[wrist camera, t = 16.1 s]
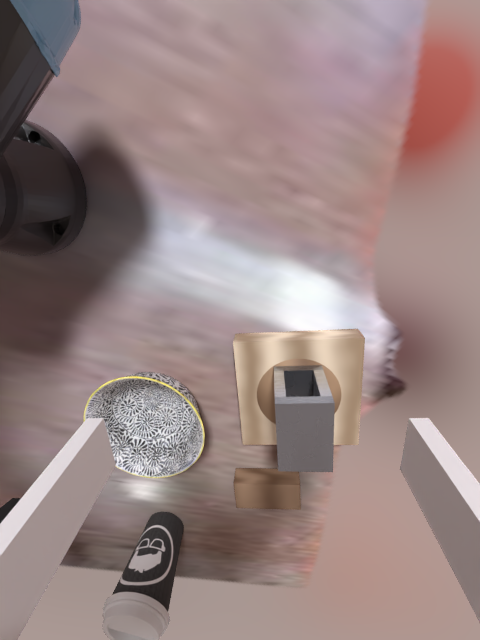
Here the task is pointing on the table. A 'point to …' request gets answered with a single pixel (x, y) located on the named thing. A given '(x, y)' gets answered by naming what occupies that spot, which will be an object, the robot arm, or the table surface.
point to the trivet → (298, 350)
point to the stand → (267, 489)
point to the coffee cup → (146, 583)
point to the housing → (303, 419)
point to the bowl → (149, 424)
